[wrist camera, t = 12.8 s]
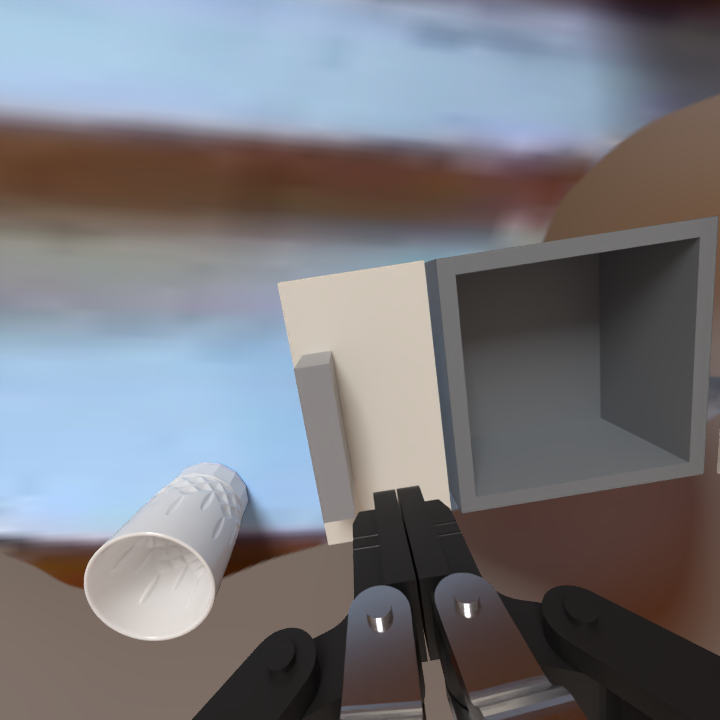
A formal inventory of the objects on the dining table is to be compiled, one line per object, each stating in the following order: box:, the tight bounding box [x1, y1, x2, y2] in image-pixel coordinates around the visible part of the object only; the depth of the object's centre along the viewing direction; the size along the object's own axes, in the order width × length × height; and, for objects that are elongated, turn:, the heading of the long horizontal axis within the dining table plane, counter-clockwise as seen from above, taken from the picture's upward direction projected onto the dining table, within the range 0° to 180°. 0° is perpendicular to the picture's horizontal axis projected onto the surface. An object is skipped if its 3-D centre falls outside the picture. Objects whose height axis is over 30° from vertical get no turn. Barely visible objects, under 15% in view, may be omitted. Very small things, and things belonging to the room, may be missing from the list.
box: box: [424, 216, 718, 513], centre depth 25 cm, size 16×16×9 cm
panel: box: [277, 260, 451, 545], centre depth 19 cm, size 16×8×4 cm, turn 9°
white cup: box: [84, 462, 248, 641], centre depth 27 cm, size 8×8×10 cm
